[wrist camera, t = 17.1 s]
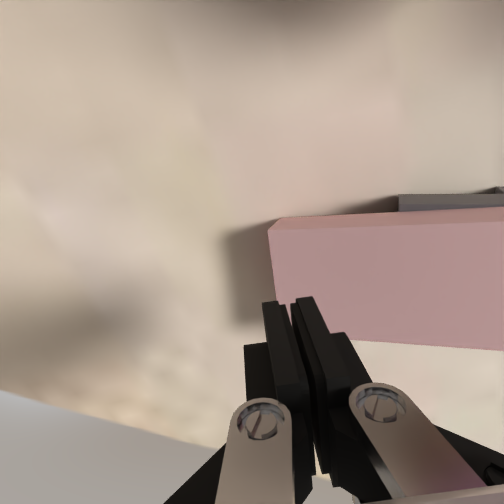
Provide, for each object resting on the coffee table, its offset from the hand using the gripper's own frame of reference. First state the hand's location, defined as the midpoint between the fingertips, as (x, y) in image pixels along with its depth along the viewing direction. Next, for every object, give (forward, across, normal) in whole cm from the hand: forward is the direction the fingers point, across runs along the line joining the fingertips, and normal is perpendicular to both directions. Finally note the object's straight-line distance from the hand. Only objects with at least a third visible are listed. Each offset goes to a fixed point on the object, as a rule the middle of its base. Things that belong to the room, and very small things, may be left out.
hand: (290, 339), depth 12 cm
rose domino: (+5, 0, 0) cm, 5 cm away
